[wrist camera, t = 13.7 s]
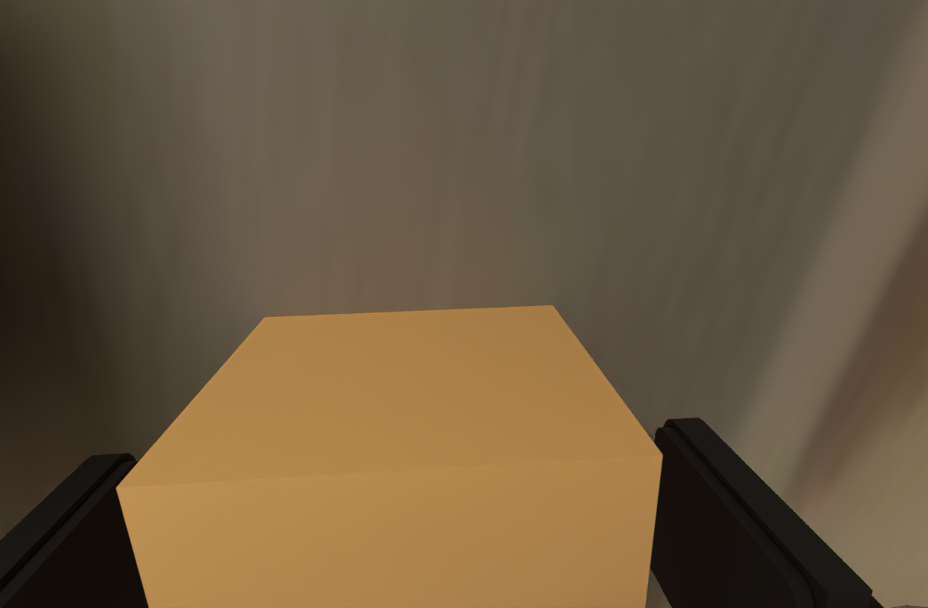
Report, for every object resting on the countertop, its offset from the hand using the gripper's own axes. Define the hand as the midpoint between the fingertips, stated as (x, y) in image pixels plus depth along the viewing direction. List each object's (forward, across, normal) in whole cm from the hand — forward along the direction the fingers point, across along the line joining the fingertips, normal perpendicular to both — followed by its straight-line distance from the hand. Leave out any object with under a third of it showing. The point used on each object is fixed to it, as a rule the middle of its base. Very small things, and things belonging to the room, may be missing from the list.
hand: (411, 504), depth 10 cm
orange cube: (+2, 0, 0) cm, 2 cm away
